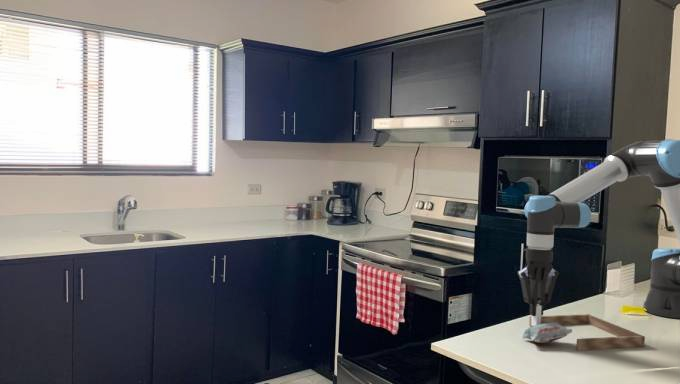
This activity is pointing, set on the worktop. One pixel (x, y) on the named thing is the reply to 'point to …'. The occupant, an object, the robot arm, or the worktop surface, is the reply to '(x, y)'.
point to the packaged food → (546, 332)
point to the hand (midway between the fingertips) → (535, 326)
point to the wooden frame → (623, 335)
